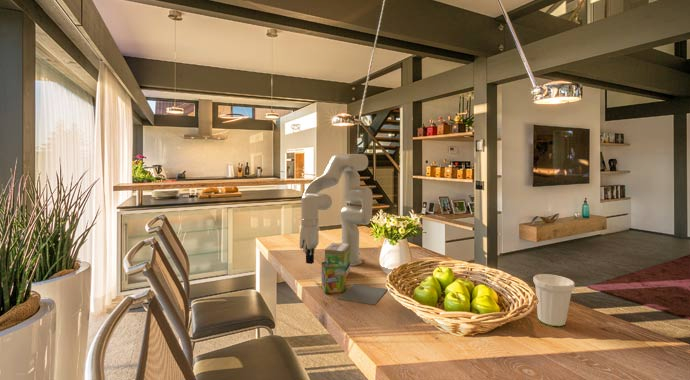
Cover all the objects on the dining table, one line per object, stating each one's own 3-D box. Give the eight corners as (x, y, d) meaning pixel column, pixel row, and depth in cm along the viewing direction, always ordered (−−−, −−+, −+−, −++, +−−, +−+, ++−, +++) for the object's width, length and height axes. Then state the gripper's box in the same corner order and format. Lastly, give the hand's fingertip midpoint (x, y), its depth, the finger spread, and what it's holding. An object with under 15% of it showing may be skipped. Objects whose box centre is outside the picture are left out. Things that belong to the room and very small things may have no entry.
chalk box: (325, 294, 150) (325, 260, 148) (320, 287, 158) (320, 254, 157) (346, 292, 152) (346, 258, 151) (340, 284, 161) (340, 253, 160)
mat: (353, 284, 161) (353, 283, 161) (387, 289, 155) (387, 288, 155) (337, 299, 145) (337, 298, 145) (374, 305, 139) (374, 304, 138)
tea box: (344, 281, 166) (344, 250, 164) (323, 279, 168) (323, 249, 166) (350, 271, 180) (350, 243, 179) (331, 270, 182) (331, 242, 181)
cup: (578, 331, 118) (581, 287, 116) (538, 328, 120) (541, 284, 118) (562, 315, 130) (565, 274, 128) (526, 312, 132) (528, 273, 131)
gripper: (310, 219, 165) (310, 258, 167) (293, 224, 152) (294, 266, 153) (324, 220, 162) (324, 259, 164) (309, 226, 149) (309, 268, 150)
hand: (309, 263), depth 158 cm, fingers closed
